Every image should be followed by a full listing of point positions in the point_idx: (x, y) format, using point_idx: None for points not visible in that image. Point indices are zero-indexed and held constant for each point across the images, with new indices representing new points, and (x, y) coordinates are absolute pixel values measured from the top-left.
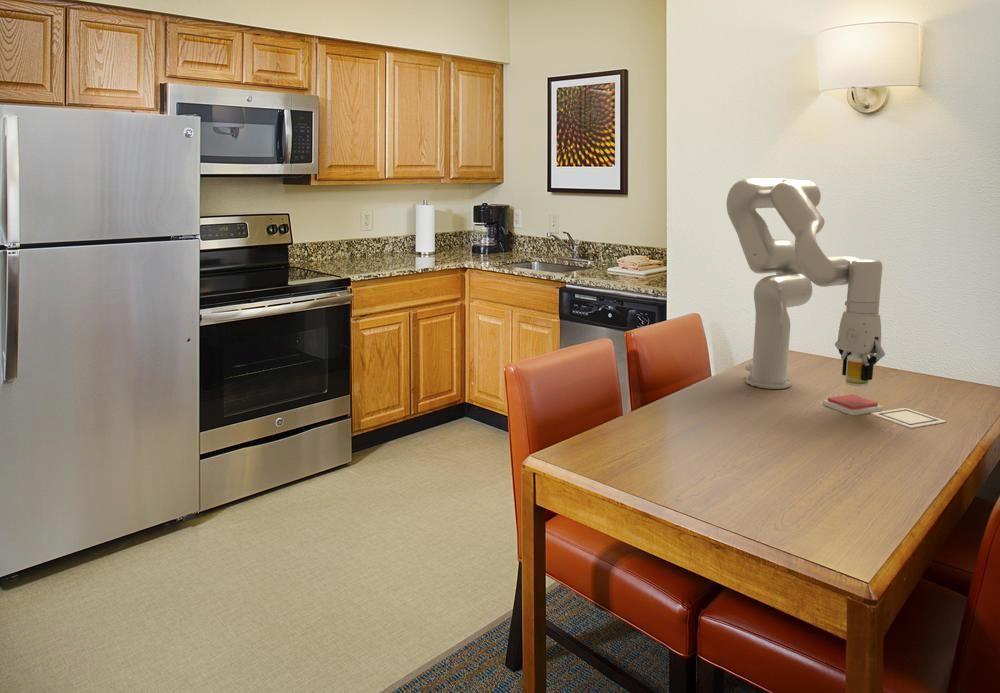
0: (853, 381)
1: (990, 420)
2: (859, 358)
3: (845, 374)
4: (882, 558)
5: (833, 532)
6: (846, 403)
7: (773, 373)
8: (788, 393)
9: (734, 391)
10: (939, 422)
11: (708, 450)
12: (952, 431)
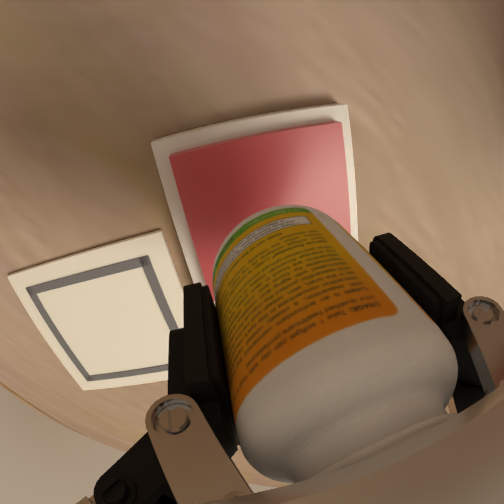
0: (245, 233)
1: (116, 448)
2: (275, 429)
3: (372, 249)
4: None
5: None
6: (229, 155)
7: None
8: (479, 90)
9: None
10: (68, 371)
11: None
12: (14, 356)
